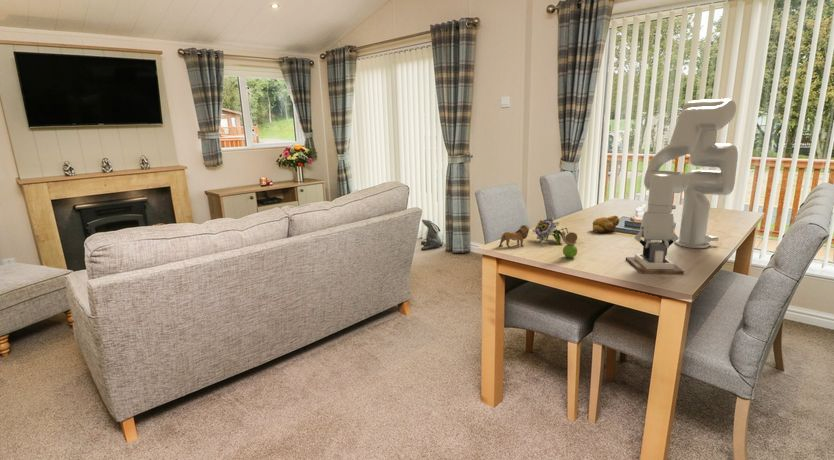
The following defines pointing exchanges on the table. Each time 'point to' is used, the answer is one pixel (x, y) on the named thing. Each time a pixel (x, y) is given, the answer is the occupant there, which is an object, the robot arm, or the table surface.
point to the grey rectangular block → (656, 252)
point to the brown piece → (653, 266)
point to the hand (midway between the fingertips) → (654, 257)
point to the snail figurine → (569, 244)
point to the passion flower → (548, 230)
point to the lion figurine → (515, 236)
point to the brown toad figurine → (605, 224)
